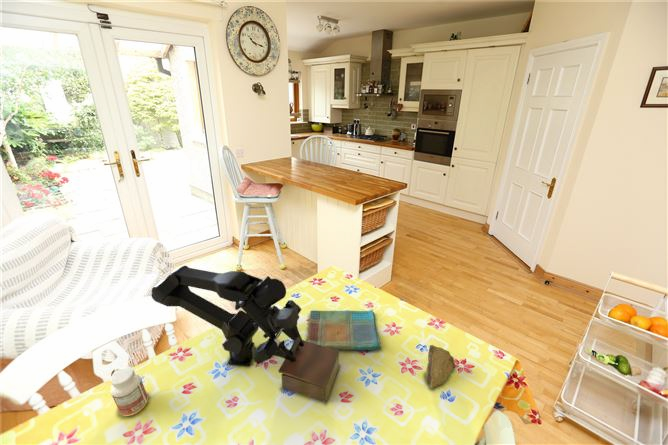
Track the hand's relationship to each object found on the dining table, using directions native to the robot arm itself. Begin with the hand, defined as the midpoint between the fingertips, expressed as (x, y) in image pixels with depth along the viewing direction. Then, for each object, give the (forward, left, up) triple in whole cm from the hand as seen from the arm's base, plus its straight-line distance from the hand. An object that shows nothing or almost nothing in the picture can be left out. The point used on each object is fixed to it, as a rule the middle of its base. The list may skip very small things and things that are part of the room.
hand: (299, 353), depth 80 cm
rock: (+41, +3, -8) cm, 42 cm away
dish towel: (+12, +17, -8) cm, 22 cm away
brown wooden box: (+4, -1, -8) cm, 9 cm away
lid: (+3, -1, -2) cm, 4 cm away
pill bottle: (-40, -13, -8) cm, 43 cm away
